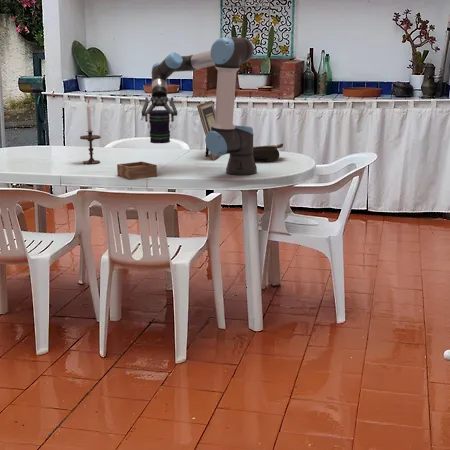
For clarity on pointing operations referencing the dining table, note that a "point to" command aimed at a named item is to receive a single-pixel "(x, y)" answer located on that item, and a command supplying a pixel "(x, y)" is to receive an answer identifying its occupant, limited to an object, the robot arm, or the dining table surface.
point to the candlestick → (90, 137)
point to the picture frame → (207, 120)
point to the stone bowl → (267, 152)
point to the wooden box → (137, 170)
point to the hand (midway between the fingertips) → (159, 126)
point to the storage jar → (159, 126)
